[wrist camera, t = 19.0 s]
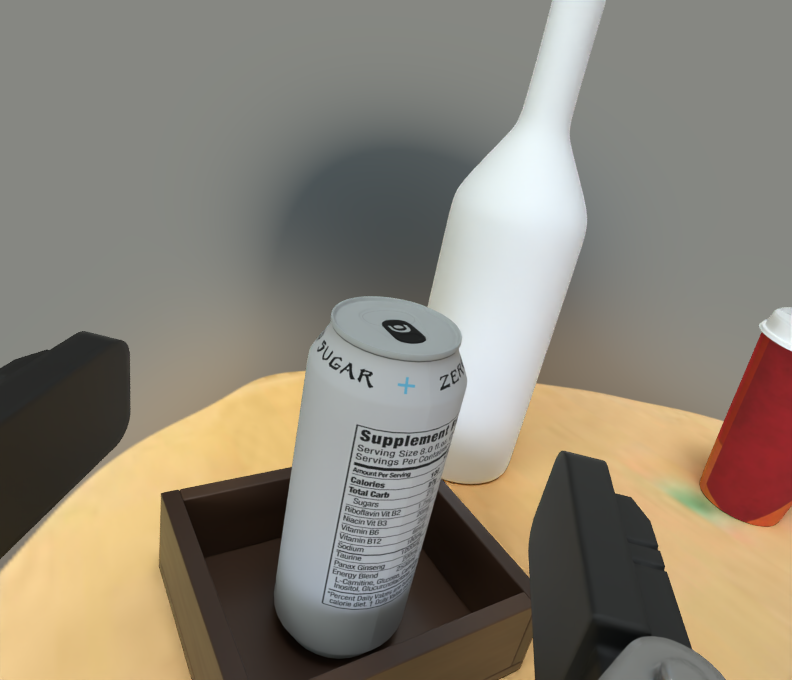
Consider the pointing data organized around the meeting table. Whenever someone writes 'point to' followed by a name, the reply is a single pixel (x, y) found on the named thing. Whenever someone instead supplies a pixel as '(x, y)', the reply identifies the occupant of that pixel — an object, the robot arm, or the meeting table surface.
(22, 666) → the meeting table surface
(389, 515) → the energy drink can
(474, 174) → the bottle
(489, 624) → the walnut box
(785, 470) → the paper cup
